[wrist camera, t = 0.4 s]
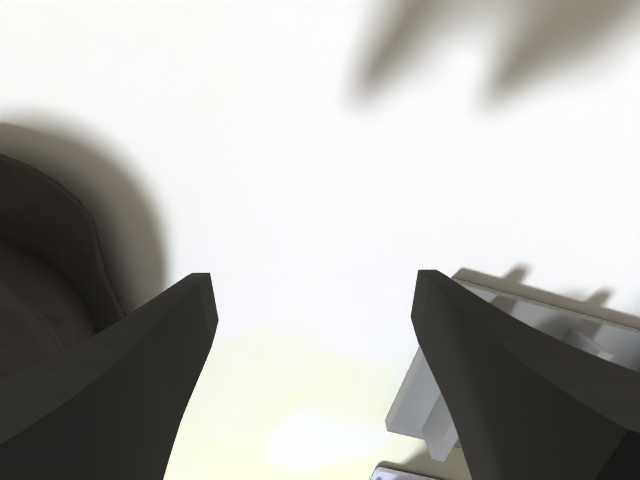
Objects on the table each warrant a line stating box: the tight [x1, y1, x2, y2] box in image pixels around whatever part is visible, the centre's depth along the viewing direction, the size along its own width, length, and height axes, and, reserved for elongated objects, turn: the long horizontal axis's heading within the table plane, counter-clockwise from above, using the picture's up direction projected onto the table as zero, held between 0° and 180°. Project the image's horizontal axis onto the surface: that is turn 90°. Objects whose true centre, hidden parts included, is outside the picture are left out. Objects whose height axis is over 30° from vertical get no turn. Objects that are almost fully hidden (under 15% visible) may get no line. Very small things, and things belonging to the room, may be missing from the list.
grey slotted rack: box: [385, 278, 640, 462], centre depth 23 cm, size 14×26×5 cm, turn 74°
